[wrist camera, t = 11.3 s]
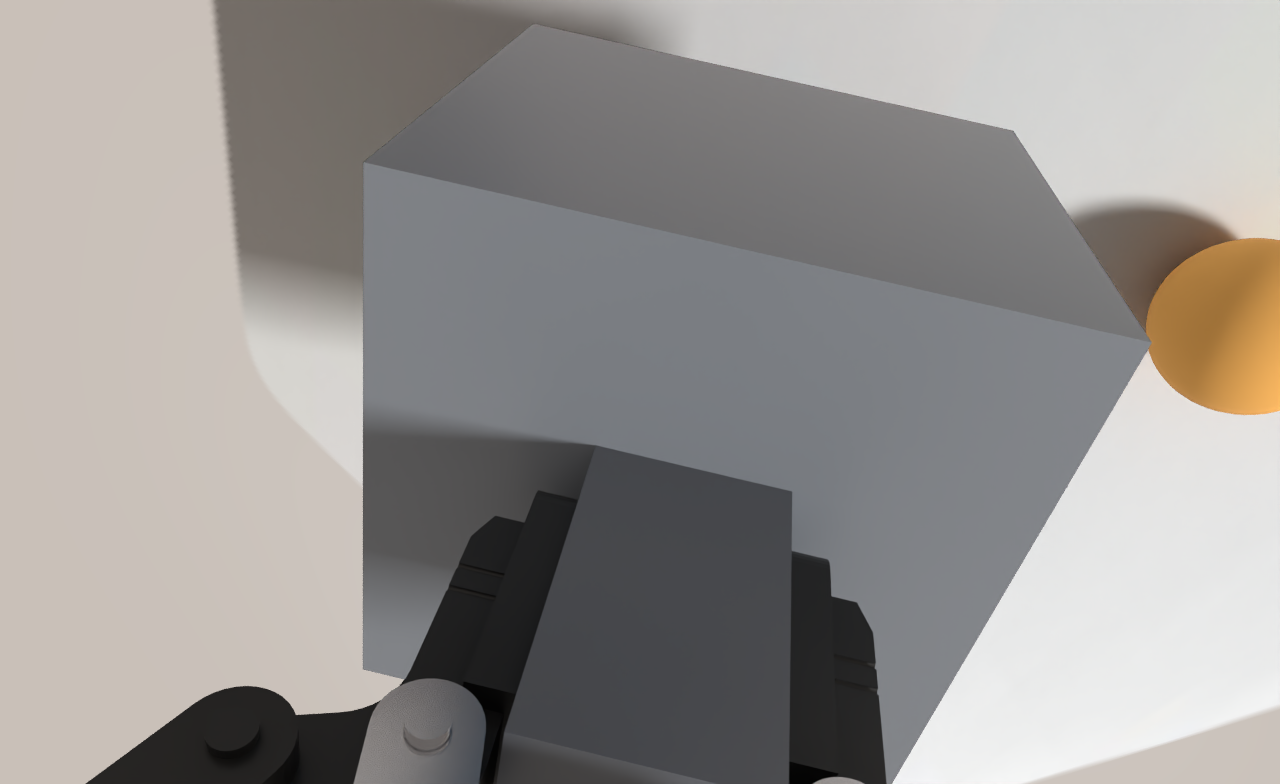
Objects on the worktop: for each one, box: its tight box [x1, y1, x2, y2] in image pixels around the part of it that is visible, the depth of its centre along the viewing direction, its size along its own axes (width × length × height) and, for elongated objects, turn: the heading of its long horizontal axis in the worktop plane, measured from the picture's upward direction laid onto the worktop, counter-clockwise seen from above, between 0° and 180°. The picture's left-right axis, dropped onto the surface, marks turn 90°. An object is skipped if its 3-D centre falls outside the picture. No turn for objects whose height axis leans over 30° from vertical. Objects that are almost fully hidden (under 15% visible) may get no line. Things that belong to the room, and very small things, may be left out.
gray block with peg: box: [363, 24, 1152, 784], centre depth 16 cm, size 10×10×14 cm
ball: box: [1146, 238, 1280, 415], centre depth 25 cm, size 5×5×5 cm
